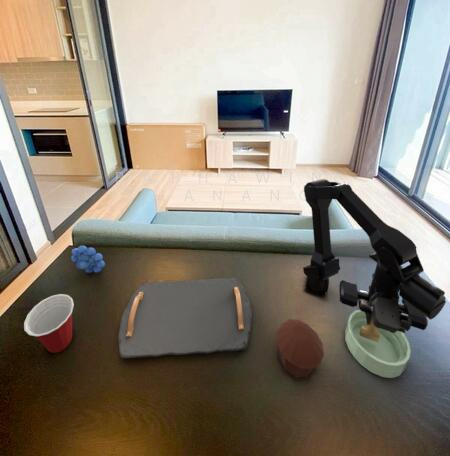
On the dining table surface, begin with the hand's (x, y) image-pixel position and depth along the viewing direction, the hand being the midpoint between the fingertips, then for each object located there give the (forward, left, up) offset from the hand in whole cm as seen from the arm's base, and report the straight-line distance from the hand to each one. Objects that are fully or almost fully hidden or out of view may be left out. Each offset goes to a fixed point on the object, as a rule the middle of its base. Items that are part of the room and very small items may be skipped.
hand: (372, 324), depth 66 cm
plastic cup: (-79, -34, -7) cm, 86 cm away
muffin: (-18, -12, -7) cm, 23 cm away
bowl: (+1, -1, -7) cm, 7 cm away
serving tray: (-50, -14, -7) cm, 52 cm away
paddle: (0, 0, -5) cm, 5 cm away
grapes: (-92, -14, -7) cm, 93 cm away
